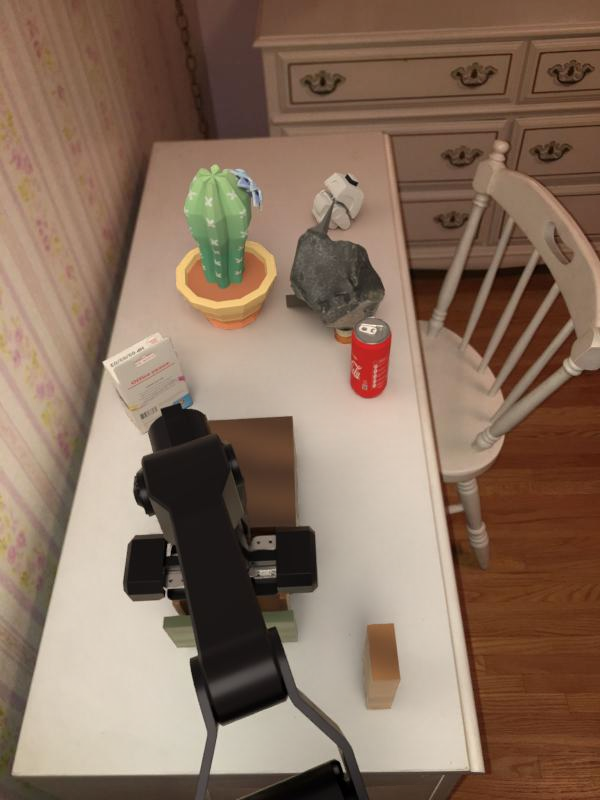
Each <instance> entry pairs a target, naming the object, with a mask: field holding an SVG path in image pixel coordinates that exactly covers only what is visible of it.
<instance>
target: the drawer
mask: <svg viewBox="0 0 600 800" xmlns="http://www.w3.org/2000/svg"><path fill="white" fill-rule="evenodd" d="M270 535H276V529H271V530H252V531H250V538H246V541H247V543H250V542H251V539H253V538H254V537H256V536H270ZM249 552H251V551H249ZM256 597H257V600H258V603H259V606H260V609H261V612H262V615H263V618H264V621H265V624H266V627H267V629H269V628H272V627H274V626H276V628H277V630H278V633H279V636H280V639H281V642H282V644H283V643H298V628H297V622H296V617H295V616H296V615H295V611H294V610H293V609H291V594H286V593H282V592H279V593H278V594H277V595H274V596H256ZM171 604H172V606H173V608H174V609H175V611H176V612H177V614H178V615H171V616H170V615H169V616H163V621H162V622H163V623H162V630H164V632H165V633H166V635H167V636H168V637H169V638H170V640H171V641H172V643H173V644H174V646H175V647H176V648H177V649H181V648H197V647H196V642H195V637H194V632H193V627H192V623H191V618H190V613H189V608H188V603H187V600H177V601H172V602H171Z"/></svg>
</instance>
